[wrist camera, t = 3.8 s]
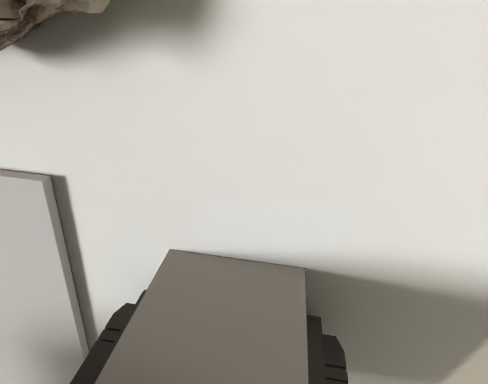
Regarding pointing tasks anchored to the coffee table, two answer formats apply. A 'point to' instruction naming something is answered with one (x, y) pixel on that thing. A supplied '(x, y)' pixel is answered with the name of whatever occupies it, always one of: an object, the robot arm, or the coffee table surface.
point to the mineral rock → (38, 15)
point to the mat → (36, 287)
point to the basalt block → (215, 325)
